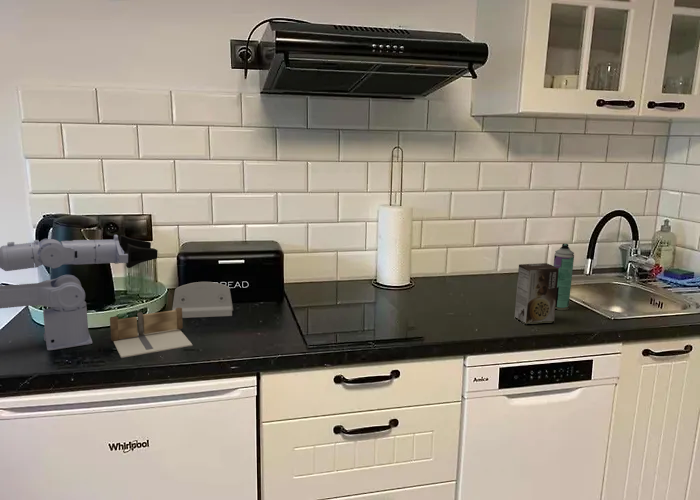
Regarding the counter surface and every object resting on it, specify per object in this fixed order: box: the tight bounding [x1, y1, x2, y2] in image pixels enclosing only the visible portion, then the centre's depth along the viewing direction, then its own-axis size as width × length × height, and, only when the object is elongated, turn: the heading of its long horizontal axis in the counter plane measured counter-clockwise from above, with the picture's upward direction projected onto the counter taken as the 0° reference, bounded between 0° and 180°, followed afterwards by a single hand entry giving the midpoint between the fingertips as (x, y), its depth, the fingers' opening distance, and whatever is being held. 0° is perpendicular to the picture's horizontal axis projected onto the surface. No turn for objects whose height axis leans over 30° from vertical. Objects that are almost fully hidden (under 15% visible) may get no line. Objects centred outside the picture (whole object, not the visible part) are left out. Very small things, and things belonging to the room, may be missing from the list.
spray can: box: [553, 243, 575, 308], centre depth 168 cm, size 6×6×20 cm
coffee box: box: [514, 262, 559, 323], centre depth 155 cm, size 9×6×16 cm
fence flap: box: [137, 308, 184, 336], centre depth 139 cm, size 11×2×6 cm, turn 121°
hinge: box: [171, 281, 234, 319], centre depth 156 cm, size 17×5×10 cm, turn 102°
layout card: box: [112, 329, 193, 359], centre depth 134 cm, size 16×14×1 cm
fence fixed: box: [109, 316, 138, 342], centre depth 135 cm, size 6×2×6 cm, turn 121°
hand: (153, 250), depth 139 cm, fingers open, 7 cm apart
